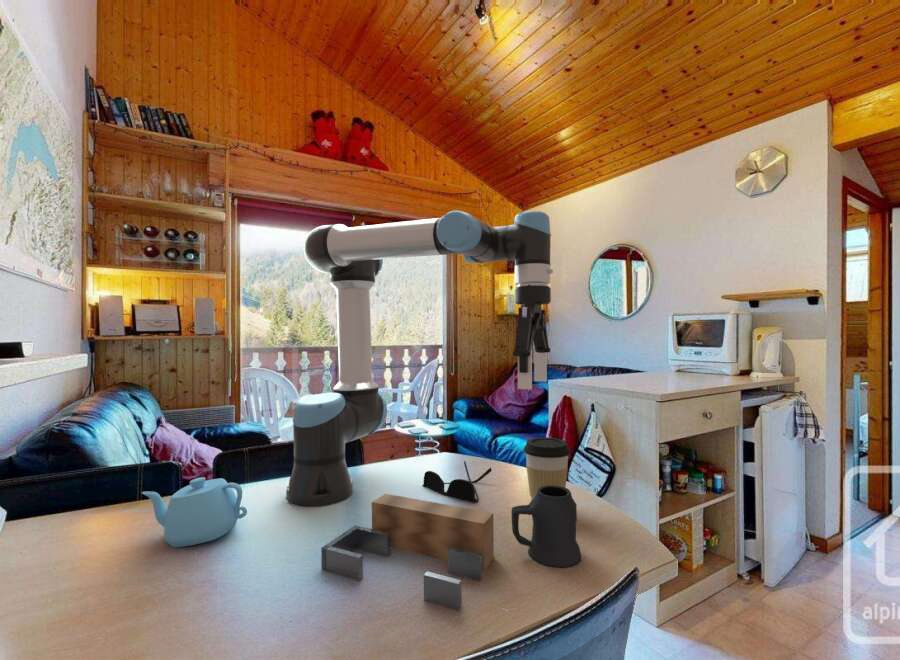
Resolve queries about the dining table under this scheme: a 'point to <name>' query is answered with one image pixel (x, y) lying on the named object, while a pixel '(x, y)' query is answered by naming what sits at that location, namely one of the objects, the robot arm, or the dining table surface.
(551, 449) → the coffee cup
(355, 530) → the slat support bracket
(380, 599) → the dining table surface
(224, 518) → the teapot
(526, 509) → the mug
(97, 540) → the dining table surface
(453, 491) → the sunglasses
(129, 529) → the dining table surface
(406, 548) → the walnut slat
